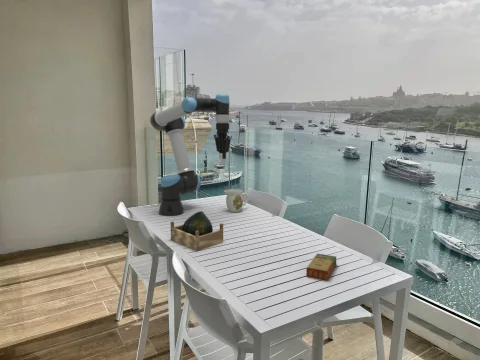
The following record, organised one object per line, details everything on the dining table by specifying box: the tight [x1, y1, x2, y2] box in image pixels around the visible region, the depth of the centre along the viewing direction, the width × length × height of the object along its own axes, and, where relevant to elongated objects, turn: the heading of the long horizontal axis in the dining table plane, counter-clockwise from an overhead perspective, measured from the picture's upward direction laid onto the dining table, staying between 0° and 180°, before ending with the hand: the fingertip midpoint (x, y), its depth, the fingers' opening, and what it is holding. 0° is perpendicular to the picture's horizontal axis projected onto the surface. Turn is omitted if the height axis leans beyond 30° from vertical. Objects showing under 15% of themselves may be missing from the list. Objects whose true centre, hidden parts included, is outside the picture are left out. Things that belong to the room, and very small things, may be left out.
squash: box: [182, 210, 214, 236], centre depth 169 cm, size 14×15×15 cm
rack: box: [169, 221, 224, 251], centre depth 169 cm, size 20×16×9 cm
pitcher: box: [223, 188, 249, 213], centre depth 222 cm, size 11×18×14 cm, turn 122°
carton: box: [305, 253, 337, 282], centre depth 138 cm, size 8×16×4 cm, turn 154°
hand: (222, 164), depth 200 cm, fingers closed
